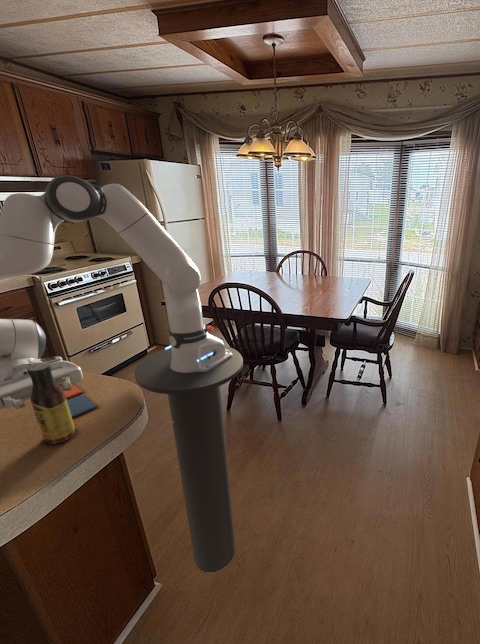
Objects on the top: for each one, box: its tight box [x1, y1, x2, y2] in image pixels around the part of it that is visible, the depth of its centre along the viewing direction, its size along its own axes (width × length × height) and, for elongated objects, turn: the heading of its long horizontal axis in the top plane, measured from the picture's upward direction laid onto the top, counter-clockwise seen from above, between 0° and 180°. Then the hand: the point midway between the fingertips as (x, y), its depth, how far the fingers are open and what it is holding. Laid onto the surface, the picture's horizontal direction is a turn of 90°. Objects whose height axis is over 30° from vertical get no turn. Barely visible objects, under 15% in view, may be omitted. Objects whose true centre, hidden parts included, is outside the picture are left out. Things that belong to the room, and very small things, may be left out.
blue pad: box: [67, 394, 98, 419], centre depth 94 cm, size 8×9×1 cm
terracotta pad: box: [64, 383, 84, 400], centre depth 101 cm, size 8×9×1 cm
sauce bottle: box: [27, 362, 76, 445], centre depth 80 cm, size 6×6×20 cm
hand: (45, 396), depth 80 cm, fingers open, 8 cm apart
